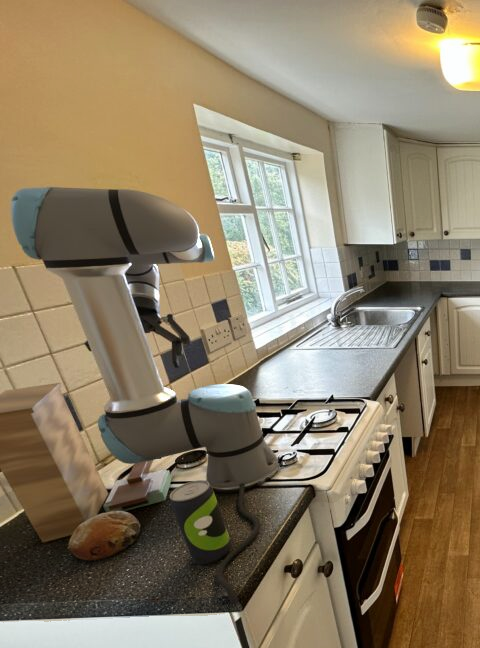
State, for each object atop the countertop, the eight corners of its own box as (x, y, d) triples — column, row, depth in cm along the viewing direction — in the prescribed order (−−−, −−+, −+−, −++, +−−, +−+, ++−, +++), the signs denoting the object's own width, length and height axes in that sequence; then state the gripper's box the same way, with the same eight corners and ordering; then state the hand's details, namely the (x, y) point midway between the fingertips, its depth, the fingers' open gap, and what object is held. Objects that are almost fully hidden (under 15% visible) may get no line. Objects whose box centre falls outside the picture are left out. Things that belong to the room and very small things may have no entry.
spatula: (146, 500, 89) (143, 493, 88) (110, 510, 86) (106, 502, 85) (163, 453, 106) (161, 446, 105) (133, 460, 103) (131, 453, 103)
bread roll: (139, 535, 88) (119, 503, 87) (154, 533, 83) (133, 499, 81) (78, 568, 80) (55, 533, 79) (90, 568, 74) (65, 531, 73)
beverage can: (200, 546, 81) (175, 483, 75) (236, 538, 82) (215, 476, 77) (188, 570, 75) (161, 504, 69) (227, 561, 77) (204, 496, 71)
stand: (92, 529, 85) (31, 407, 74) (38, 543, 81) (-34, 418, 70) (111, 492, 96) (60, 382, 85) (64, 504, 92) (5, 390, 82)
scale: (165, 501, 93) (160, 490, 92) (106, 516, 89) (101, 505, 87) (172, 478, 101) (168, 467, 100) (119, 490, 97) (114, 480, 96)
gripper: (201, 312, 120) (205, 370, 110) (83, 316, 107) (77, 383, 98) (195, 293, 114) (199, 353, 105) (70, 296, 101) (63, 364, 92)
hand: (140, 367), depth 101 cm, fingers open, 13 cm apart
